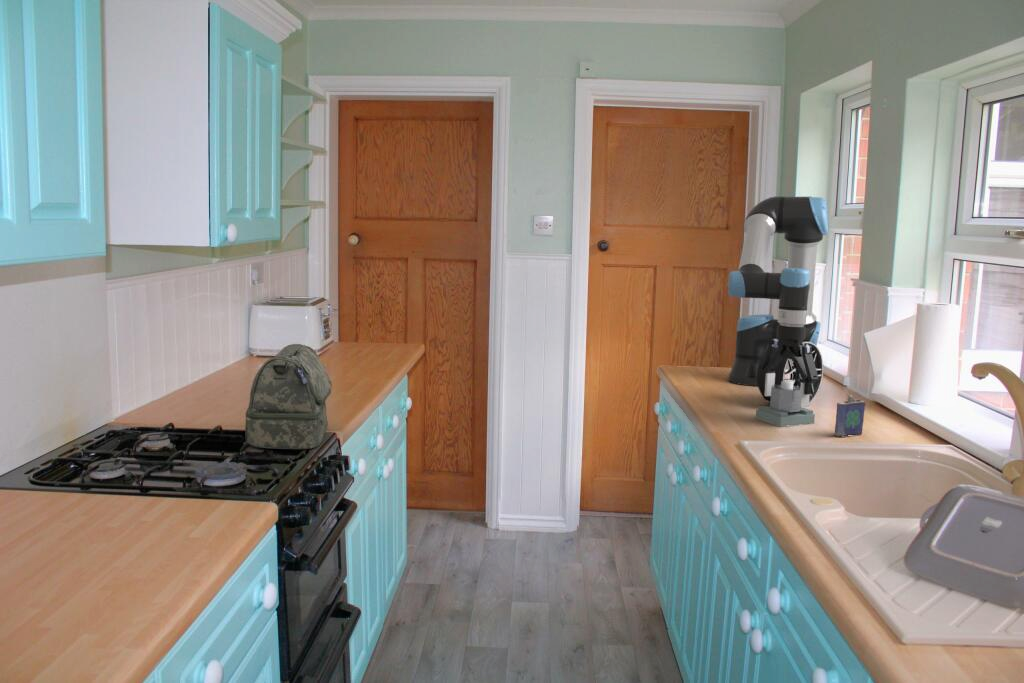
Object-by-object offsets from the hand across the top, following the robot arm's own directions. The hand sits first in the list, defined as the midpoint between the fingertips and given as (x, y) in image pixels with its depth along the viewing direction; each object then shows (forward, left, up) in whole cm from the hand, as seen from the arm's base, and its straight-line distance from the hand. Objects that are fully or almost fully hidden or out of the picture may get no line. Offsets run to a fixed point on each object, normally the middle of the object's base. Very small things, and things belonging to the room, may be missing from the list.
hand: (785, 400), depth 235 cm
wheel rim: (-16, -16, -6) cm, 23 cm away
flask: (-5, +18, -6) cm, 20 cm away
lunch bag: (+130, -27, -6) cm, 133 cm away
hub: (0, 0, -2) cm, 2 cm away
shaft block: (0, 0, -6) cm, 6 cm away
